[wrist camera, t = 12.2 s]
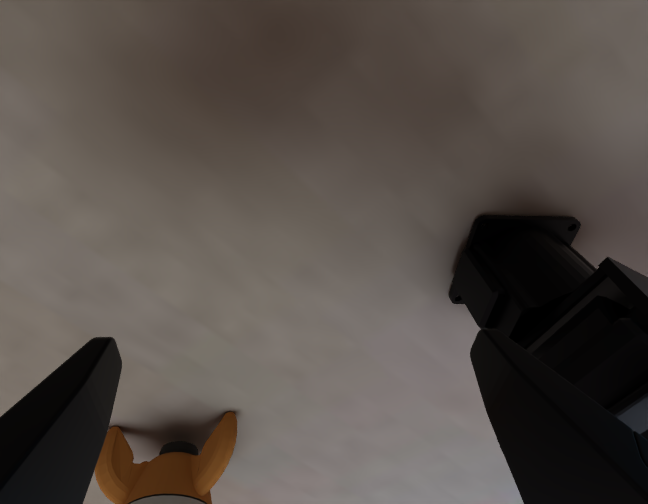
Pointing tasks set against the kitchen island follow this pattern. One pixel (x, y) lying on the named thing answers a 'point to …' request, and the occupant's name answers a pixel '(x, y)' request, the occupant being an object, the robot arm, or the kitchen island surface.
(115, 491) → the toy rocket
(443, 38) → the kitchen island surface
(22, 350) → the kitchen island surface
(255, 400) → the kitchen island surface
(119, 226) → the kitchen island surface
